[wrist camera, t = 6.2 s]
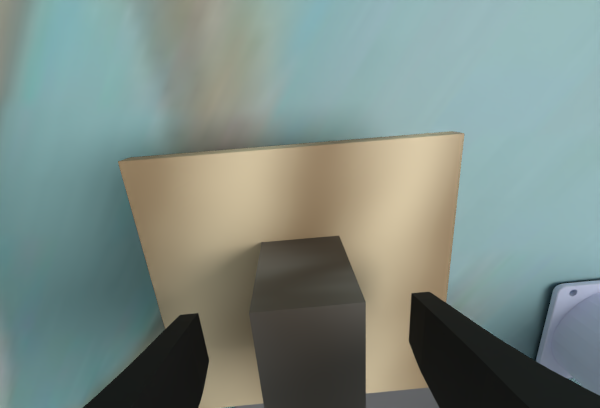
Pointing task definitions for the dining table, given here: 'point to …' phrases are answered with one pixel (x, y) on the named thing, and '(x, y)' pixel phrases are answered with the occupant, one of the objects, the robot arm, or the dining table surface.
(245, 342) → the lid
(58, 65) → the dining table surface
